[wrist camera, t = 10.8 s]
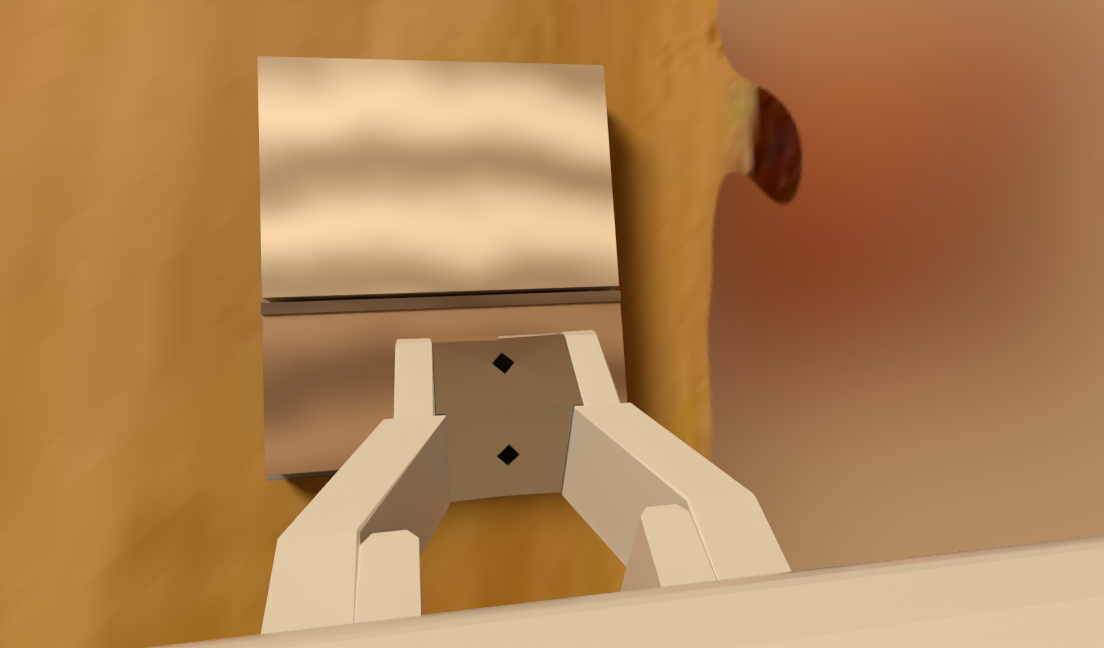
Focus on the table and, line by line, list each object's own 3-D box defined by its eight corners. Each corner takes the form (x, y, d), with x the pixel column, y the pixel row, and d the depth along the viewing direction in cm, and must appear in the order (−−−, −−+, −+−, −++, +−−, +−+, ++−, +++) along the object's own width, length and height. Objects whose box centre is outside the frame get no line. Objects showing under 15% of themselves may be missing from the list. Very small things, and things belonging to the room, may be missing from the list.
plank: (607, 292, 40) (619, 285, 38) (273, 304, 37) (262, 297, 34) (593, 84, 42) (603, 65, 39) (268, 78, 38) (257, 56, 36)
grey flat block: (614, 448, 42) (641, 455, 37) (279, 474, 39) (253, 487, 33) (589, 99, 45) (611, 56, 39) (272, 93, 41) (246, 45, 36)
